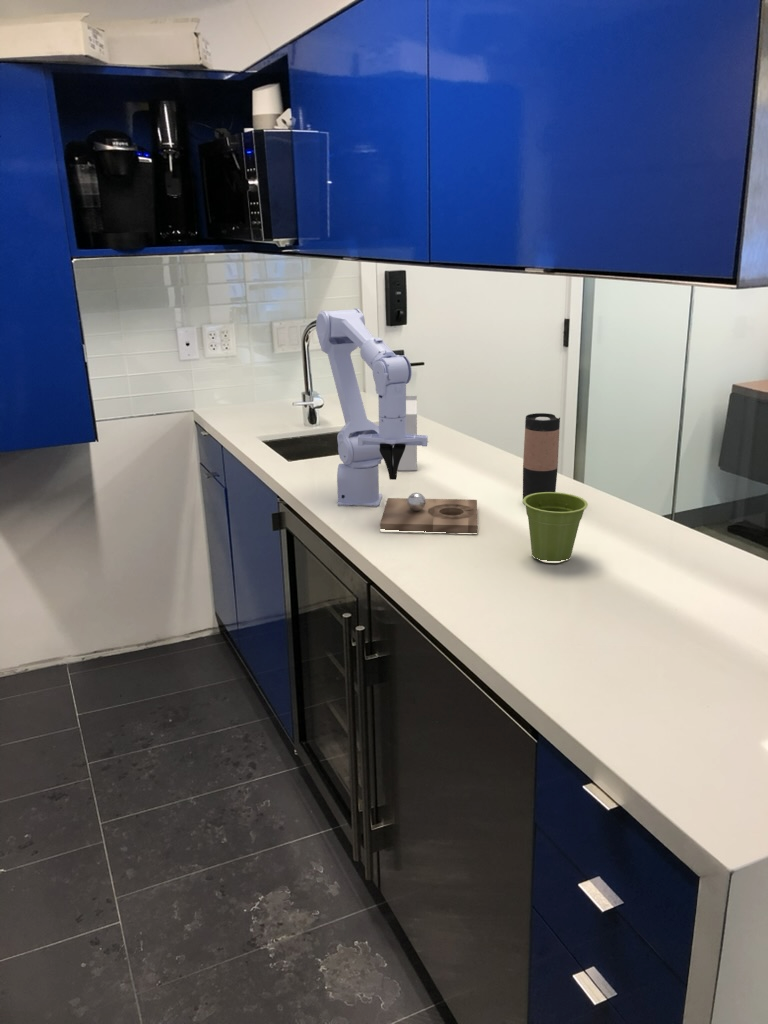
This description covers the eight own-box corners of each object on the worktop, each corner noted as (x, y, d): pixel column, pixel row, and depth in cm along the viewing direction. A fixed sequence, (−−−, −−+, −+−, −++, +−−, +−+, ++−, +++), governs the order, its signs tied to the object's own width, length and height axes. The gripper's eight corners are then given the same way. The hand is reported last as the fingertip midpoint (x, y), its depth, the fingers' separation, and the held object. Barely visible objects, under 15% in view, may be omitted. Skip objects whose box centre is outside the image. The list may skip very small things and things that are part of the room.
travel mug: (516, 505, 187) (520, 418, 181) (527, 496, 194) (531, 411, 187) (549, 510, 184) (554, 421, 178) (559, 500, 190) (564, 414, 184)
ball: (406, 513, 177) (406, 495, 176) (407, 507, 181) (407, 490, 179) (425, 514, 177) (425, 496, 175) (426, 508, 180) (426, 490, 179)
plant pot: (533, 572, 151) (536, 514, 148) (511, 549, 162) (513, 494, 159) (594, 566, 153) (598, 509, 150) (568, 544, 164) (572, 489, 161)
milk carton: (416, 471, 215) (416, 398, 209) (389, 471, 215) (388, 398, 209) (416, 463, 222) (416, 393, 216) (389, 463, 222) (389, 393, 216)
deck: (380, 532, 172) (380, 523, 171) (387, 506, 188) (387, 498, 187) (477, 534, 170) (477, 525, 169) (476, 508, 186) (476, 499, 185)
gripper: (355, 419, 169) (356, 483, 174) (426, 419, 168) (426, 484, 172) (359, 412, 176) (361, 473, 180) (428, 412, 175) (427, 474, 179)
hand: (393, 478), depth 177 cm, fingers closed
